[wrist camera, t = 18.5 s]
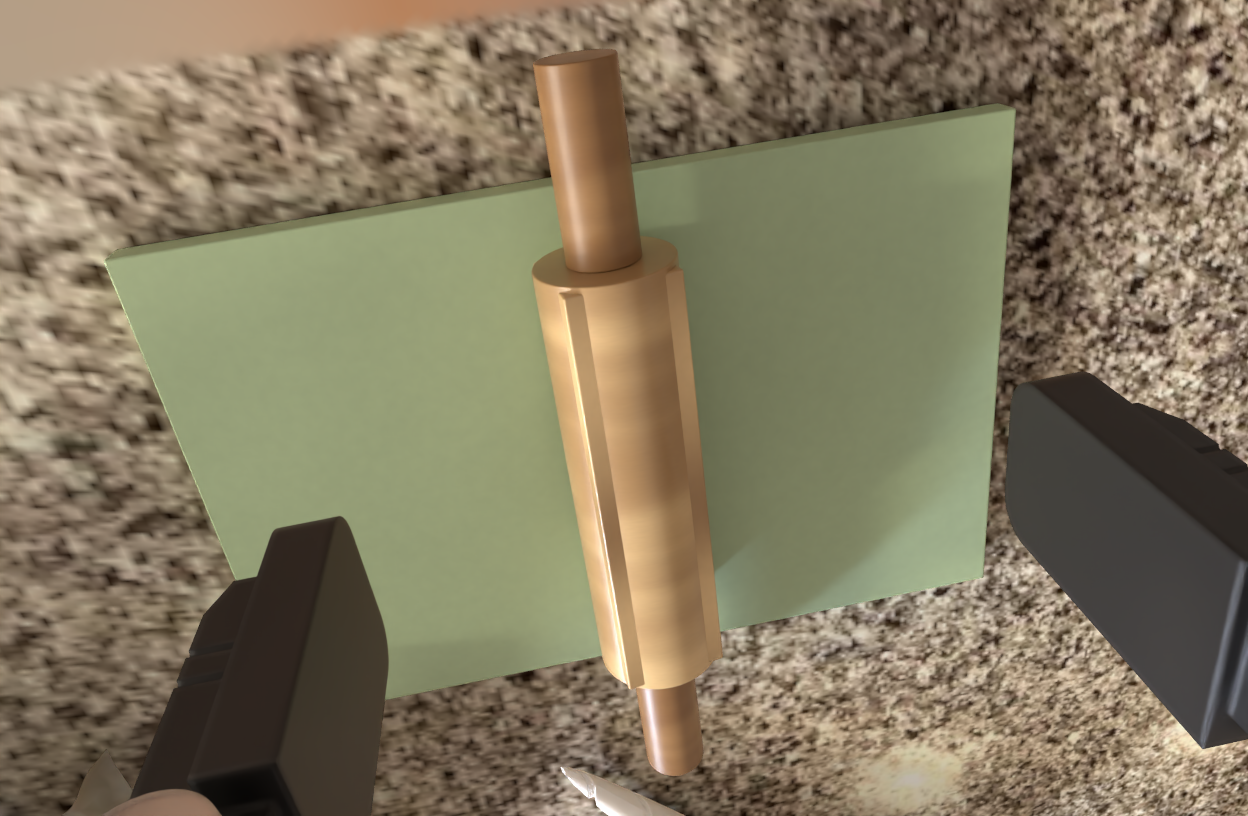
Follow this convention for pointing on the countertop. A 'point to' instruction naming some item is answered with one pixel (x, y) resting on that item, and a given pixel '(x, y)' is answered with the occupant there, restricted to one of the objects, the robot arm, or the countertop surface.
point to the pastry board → (524, 400)
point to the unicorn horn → (615, 796)
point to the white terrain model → (101, 789)
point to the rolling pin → (626, 409)
